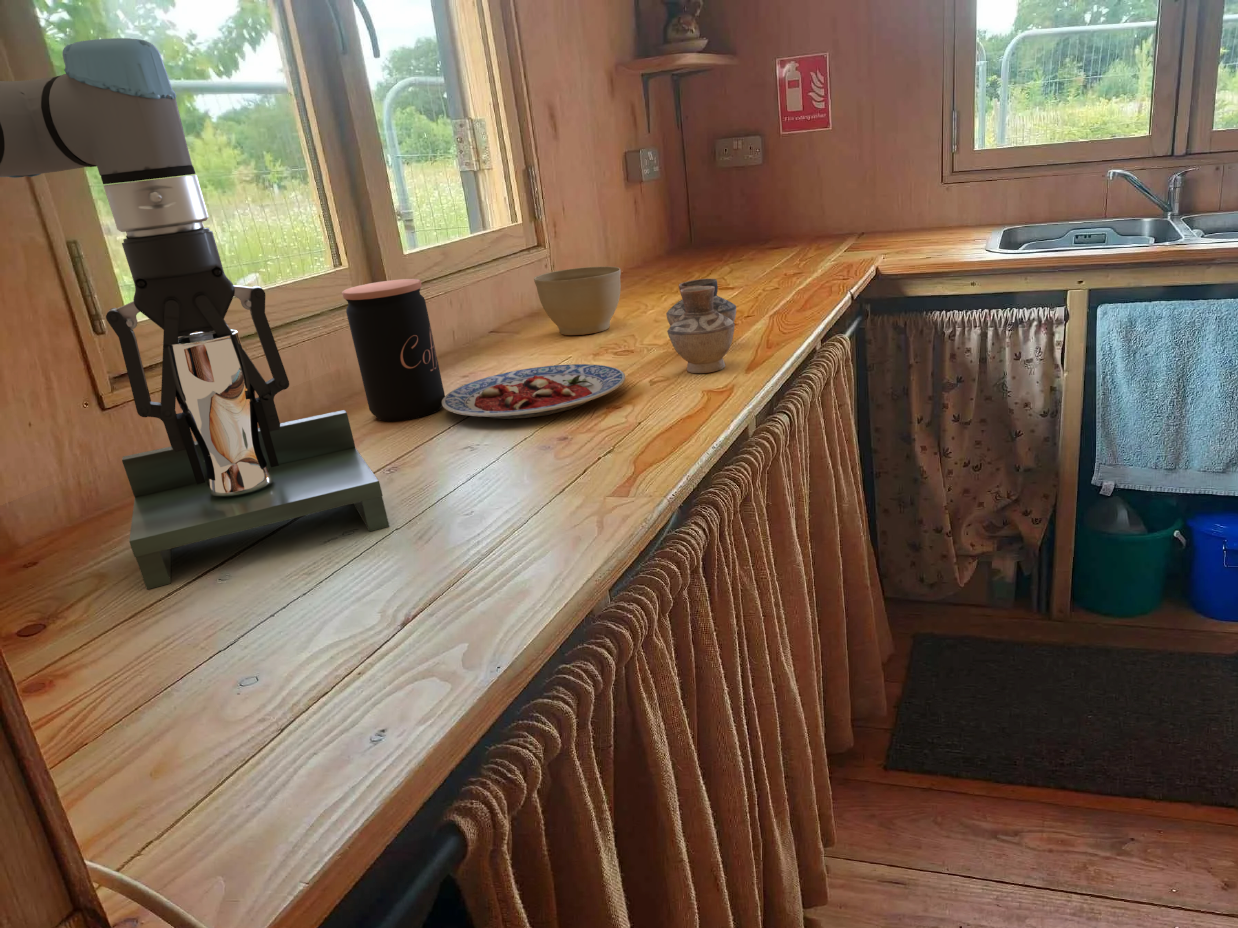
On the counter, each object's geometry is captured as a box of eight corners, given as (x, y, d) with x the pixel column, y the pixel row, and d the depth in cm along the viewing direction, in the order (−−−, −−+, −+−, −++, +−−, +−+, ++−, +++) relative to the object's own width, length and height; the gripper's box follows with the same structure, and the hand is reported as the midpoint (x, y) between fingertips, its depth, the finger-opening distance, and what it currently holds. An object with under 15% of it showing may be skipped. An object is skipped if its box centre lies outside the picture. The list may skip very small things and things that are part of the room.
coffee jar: (421, 422, 134) (392, 290, 127) (356, 423, 137) (325, 295, 130) (460, 400, 143) (435, 276, 136) (399, 401, 146) (371, 281, 140)
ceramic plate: (465, 443, 122) (460, 420, 120) (430, 402, 144) (426, 382, 143) (654, 401, 130) (652, 380, 129) (593, 369, 153) (591, 350, 151)
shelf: (150, 537, 101) (122, 456, 98) (363, 486, 110) (344, 409, 107) (146, 591, 88) (114, 499, 85) (390, 528, 96) (369, 441, 93)
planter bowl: (592, 341, 174) (583, 280, 170) (525, 339, 182) (515, 281, 178) (644, 322, 186) (637, 264, 182) (579, 321, 194) (571, 266, 190)
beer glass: (237, 474, 101) (197, 330, 95) (293, 474, 99) (255, 327, 93) (188, 497, 95) (142, 345, 89) (246, 499, 93) (203, 343, 87)
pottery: (668, 381, 140) (658, 298, 136) (671, 345, 163) (662, 273, 159) (746, 373, 140) (738, 289, 135) (738, 338, 163) (731, 265, 158)
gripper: (39, 248, 81) (129, 506, 89) (280, 216, 88) (342, 457, 96) (49, 244, 87) (132, 485, 95) (273, 214, 94) (331, 441, 103)
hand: (237, 471), depth 96 cm, fingers closed on beer glass, 6 cm apart
